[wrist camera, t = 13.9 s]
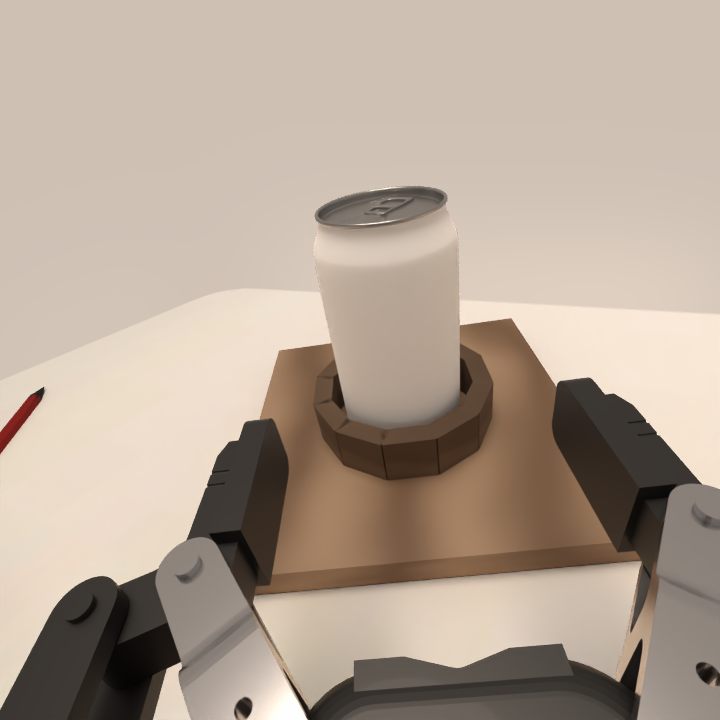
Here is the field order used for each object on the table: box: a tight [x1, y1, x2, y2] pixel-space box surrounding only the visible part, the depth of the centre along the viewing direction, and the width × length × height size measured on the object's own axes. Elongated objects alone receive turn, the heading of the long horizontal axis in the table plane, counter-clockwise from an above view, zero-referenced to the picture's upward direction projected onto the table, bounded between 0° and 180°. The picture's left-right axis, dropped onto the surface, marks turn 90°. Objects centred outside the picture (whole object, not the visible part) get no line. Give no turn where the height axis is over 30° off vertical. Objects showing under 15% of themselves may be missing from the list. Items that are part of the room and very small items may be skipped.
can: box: [313, 186, 460, 430], centre depth 21 cm, size 6×6×12 cm
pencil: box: [0, 387, 44, 454], centre depth 30 cm, size 1×14×1 cm, turn 11°
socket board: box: [254, 318, 641, 595], centre depth 24 cm, size 18×18×4 cm
